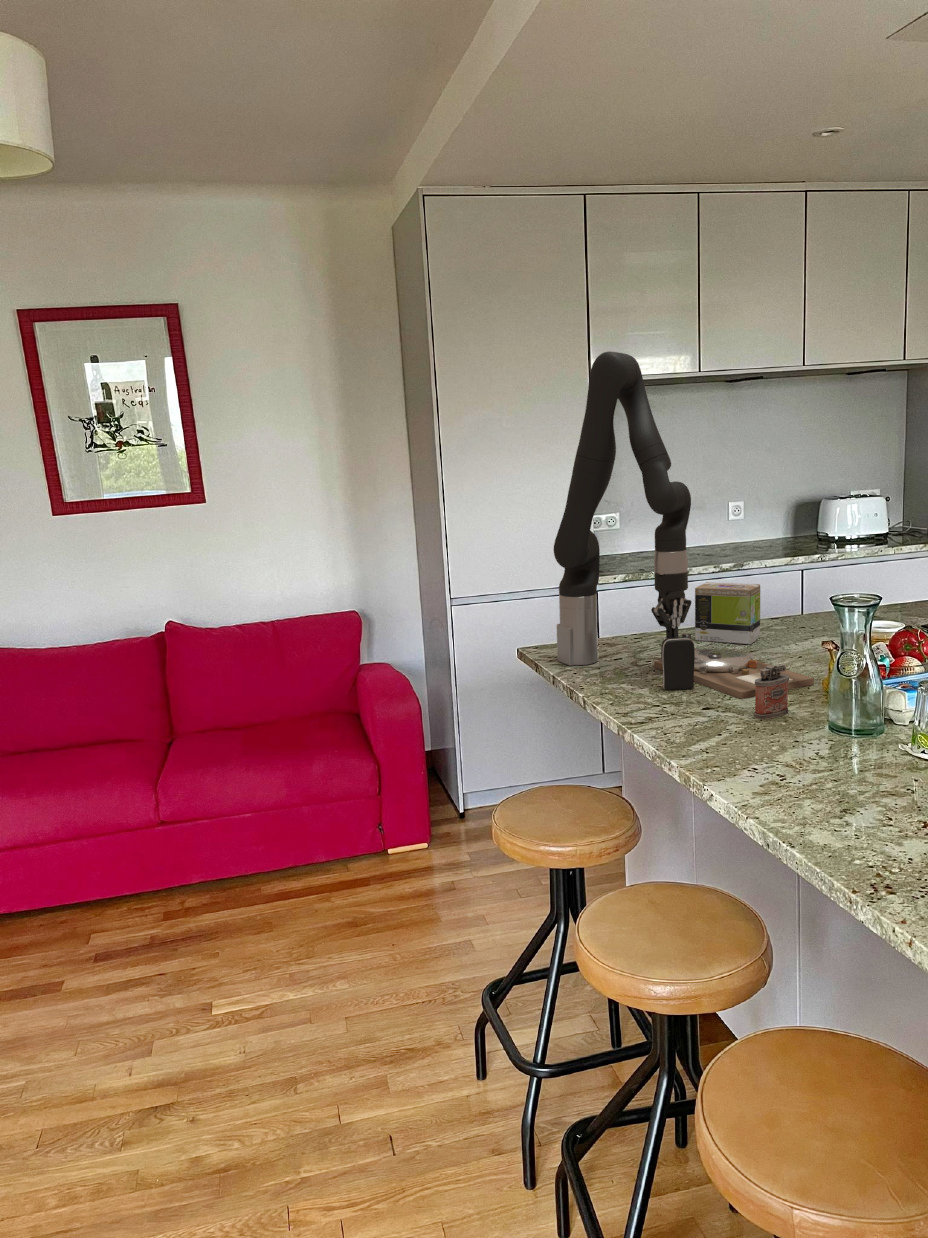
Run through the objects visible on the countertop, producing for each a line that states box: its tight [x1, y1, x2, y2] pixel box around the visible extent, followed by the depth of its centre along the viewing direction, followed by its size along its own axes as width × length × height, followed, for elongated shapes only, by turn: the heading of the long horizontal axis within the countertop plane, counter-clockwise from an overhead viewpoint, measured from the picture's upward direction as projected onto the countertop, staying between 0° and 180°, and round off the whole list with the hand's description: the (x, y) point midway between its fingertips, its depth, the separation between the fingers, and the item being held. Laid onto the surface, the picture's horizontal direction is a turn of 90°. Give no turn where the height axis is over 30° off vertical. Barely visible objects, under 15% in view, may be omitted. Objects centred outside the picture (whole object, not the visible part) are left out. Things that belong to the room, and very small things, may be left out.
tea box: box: [694, 581, 761, 645], centre depth 242 cm, size 15×10×15 cm, turn 58°
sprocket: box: [681, 632, 758, 674], centre depth 213 cm, size 19×19×6 cm
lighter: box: [753, 663, 789, 720], centre depth 179 cm, size 8×3×10 cm, turn 117°
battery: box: [660, 636, 696, 691], centre depth 200 cm, size 7×4×11 cm, turn 92°
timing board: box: [653, 659, 815, 700], centre depth 209 cm, size 20×31×2 cm, turn 24°
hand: (672, 642), depth 212 cm, fingers closed
